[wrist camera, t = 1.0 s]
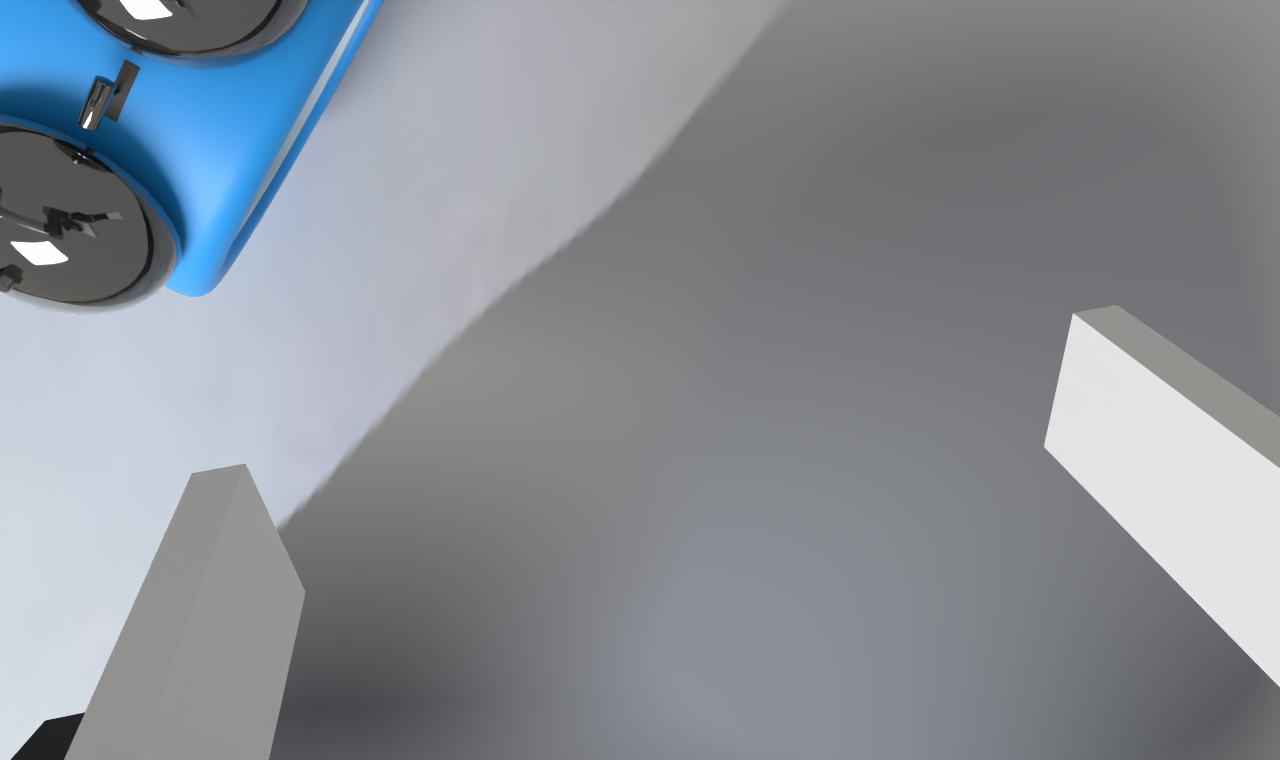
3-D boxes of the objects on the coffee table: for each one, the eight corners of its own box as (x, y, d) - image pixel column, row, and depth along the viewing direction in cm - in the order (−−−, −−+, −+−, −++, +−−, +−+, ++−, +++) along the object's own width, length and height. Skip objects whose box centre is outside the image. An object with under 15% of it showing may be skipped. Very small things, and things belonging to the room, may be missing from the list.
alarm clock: (273, 205, 31) (121, 433, 19) (99, 111, 29) (-212, 300, 16) (449, -118, 27) (406, -108, 14) (261, -266, 24) (3, -414, 12)
